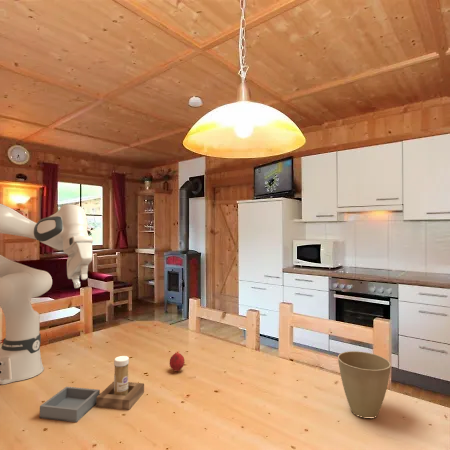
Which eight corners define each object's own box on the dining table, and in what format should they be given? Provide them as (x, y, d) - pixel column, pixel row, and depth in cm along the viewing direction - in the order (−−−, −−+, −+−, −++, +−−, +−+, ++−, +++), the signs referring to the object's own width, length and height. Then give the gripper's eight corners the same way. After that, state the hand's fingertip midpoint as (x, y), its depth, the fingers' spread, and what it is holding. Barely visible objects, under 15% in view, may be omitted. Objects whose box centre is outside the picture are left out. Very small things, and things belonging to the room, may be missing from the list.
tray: (39, 418, 95) (39, 406, 95) (66, 397, 107) (66, 386, 107) (76, 422, 93) (76, 410, 93) (99, 400, 105) (99, 389, 105)
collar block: (96, 406, 101) (96, 397, 101) (114, 389, 112) (114, 380, 112) (129, 410, 99) (129, 400, 100) (144, 392, 110) (144, 383, 110)
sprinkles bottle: (122, 404, 103) (122, 361, 103) (110, 401, 105) (111, 359, 105) (131, 397, 107) (131, 356, 107) (120, 394, 109) (120, 354, 109)
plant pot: (399, 413, 98) (398, 360, 99) (377, 433, 88) (377, 375, 89) (352, 394, 109) (352, 347, 110) (328, 410, 100) (328, 358, 100)
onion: (181, 375, 123) (181, 354, 123) (167, 374, 124) (167, 353, 124) (186, 369, 129) (186, 348, 129) (172, 367, 130) (172, 347, 130)
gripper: (61, 256, 121) (64, 292, 117) (74, 234, 107) (78, 275, 102) (79, 256, 125) (82, 290, 120) (93, 234, 111) (98, 273, 106)
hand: (80, 283), depth 111 cm, fingers open, 8 cm apart
